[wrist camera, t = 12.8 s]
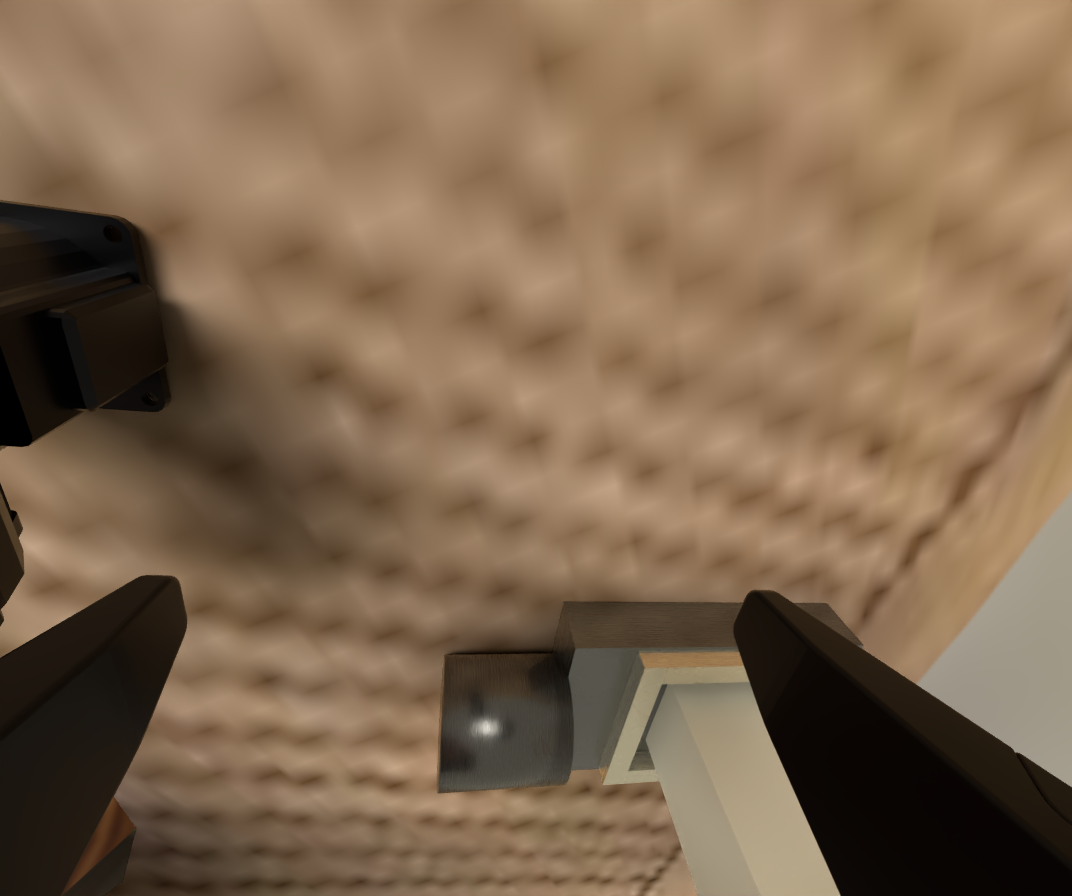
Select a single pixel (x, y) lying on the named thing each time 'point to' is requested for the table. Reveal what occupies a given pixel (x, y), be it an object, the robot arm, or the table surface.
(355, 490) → the table surface
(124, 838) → the wooden planter
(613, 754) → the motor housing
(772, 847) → the cream block
